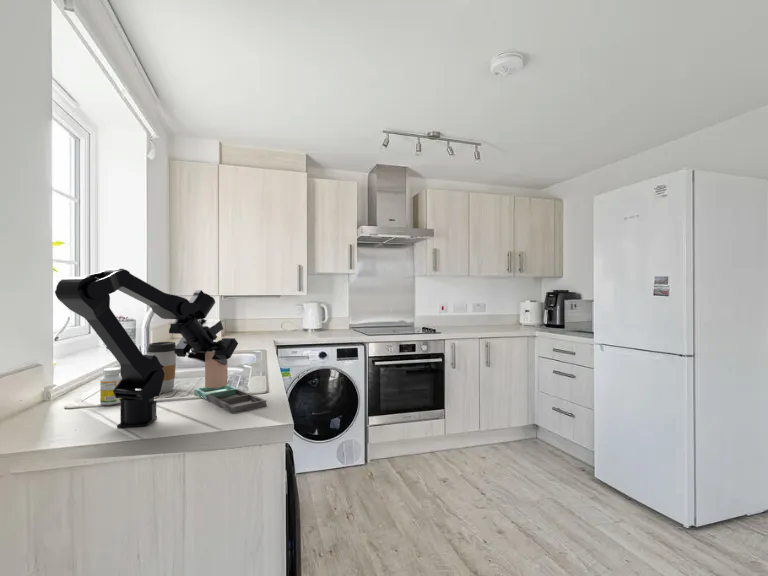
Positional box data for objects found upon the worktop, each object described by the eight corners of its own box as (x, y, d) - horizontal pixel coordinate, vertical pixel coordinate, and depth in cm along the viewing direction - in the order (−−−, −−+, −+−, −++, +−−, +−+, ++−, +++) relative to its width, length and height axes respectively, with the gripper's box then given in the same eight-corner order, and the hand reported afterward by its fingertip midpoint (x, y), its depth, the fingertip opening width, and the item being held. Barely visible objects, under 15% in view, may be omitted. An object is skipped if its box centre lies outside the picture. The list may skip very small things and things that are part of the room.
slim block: (217, 388, 120) (217, 344, 120) (205, 387, 121) (205, 344, 121) (227, 384, 124) (227, 342, 124) (215, 383, 126) (215, 342, 126)
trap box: (266, 405, 110) (266, 400, 110) (232, 413, 103) (232, 407, 103) (225, 388, 130) (225, 383, 130) (194, 393, 123) (194, 388, 123)
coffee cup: (140, 393, 124) (140, 344, 124) (161, 386, 132) (161, 341, 132) (163, 394, 122) (163, 345, 122) (183, 388, 130) (183, 342, 130)
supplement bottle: (107, 406, 110) (107, 371, 110) (95, 404, 112) (95, 369, 112) (127, 401, 115) (127, 367, 115) (115, 399, 117) (115, 366, 117)
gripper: (234, 310, 116) (256, 344, 127) (181, 310, 122) (207, 341, 132) (215, 341, 109) (240, 373, 119) (160, 339, 114) (189, 370, 125)
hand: (219, 363), depth 124 cm, fingers closed on slim block, 4 cm apart
